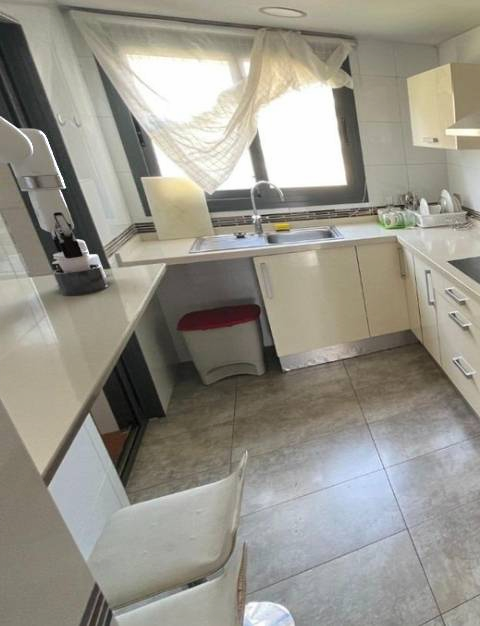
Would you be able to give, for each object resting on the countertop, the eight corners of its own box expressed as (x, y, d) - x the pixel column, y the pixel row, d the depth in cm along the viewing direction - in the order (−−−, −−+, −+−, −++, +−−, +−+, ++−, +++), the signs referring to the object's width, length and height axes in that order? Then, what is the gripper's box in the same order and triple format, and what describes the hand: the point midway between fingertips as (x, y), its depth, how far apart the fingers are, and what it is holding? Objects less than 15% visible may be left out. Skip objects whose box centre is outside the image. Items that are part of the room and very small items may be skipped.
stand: (57, 298, 115) (47, 275, 113) (66, 289, 122) (57, 267, 120) (104, 291, 120) (95, 269, 118) (110, 283, 127) (102, 262, 124)
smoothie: (76, 293, 117) (54, 239, 112) (61, 290, 119) (39, 237, 114) (106, 286, 122) (86, 234, 117) (92, 283, 124) (72, 232, 119)
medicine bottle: (61, 288, 123) (43, 244, 118) (74, 281, 129) (57, 239, 124) (96, 285, 125) (79, 241, 121) (107, 278, 131) (91, 236, 127)
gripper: (13, 182, 113) (43, 254, 119) (25, 186, 103) (58, 263, 110) (55, 180, 118) (82, 248, 125) (71, 183, 109) (99, 257, 115)
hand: (70, 254), depth 117 cm, fingers closed on smoothie, 6 cm apart
